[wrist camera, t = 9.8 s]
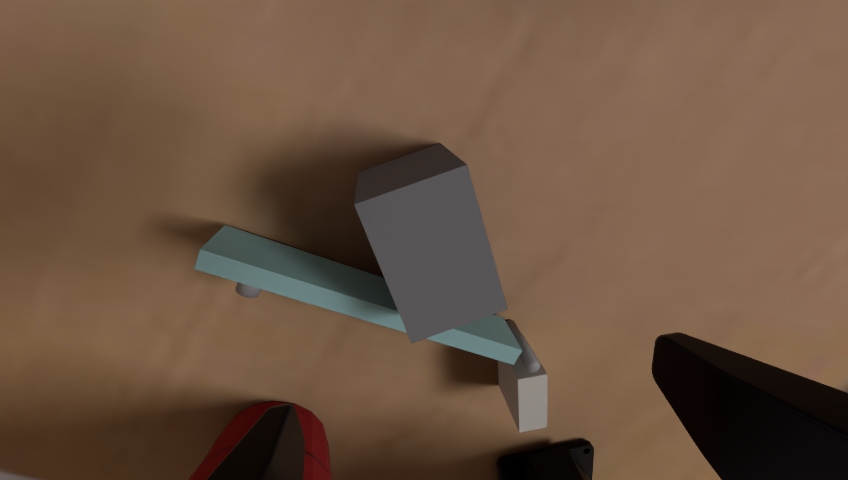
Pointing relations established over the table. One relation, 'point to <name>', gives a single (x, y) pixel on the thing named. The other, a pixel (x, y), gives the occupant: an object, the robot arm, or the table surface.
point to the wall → (524, 386)
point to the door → (334, 289)
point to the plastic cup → (314, 434)
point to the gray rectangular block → (429, 241)
